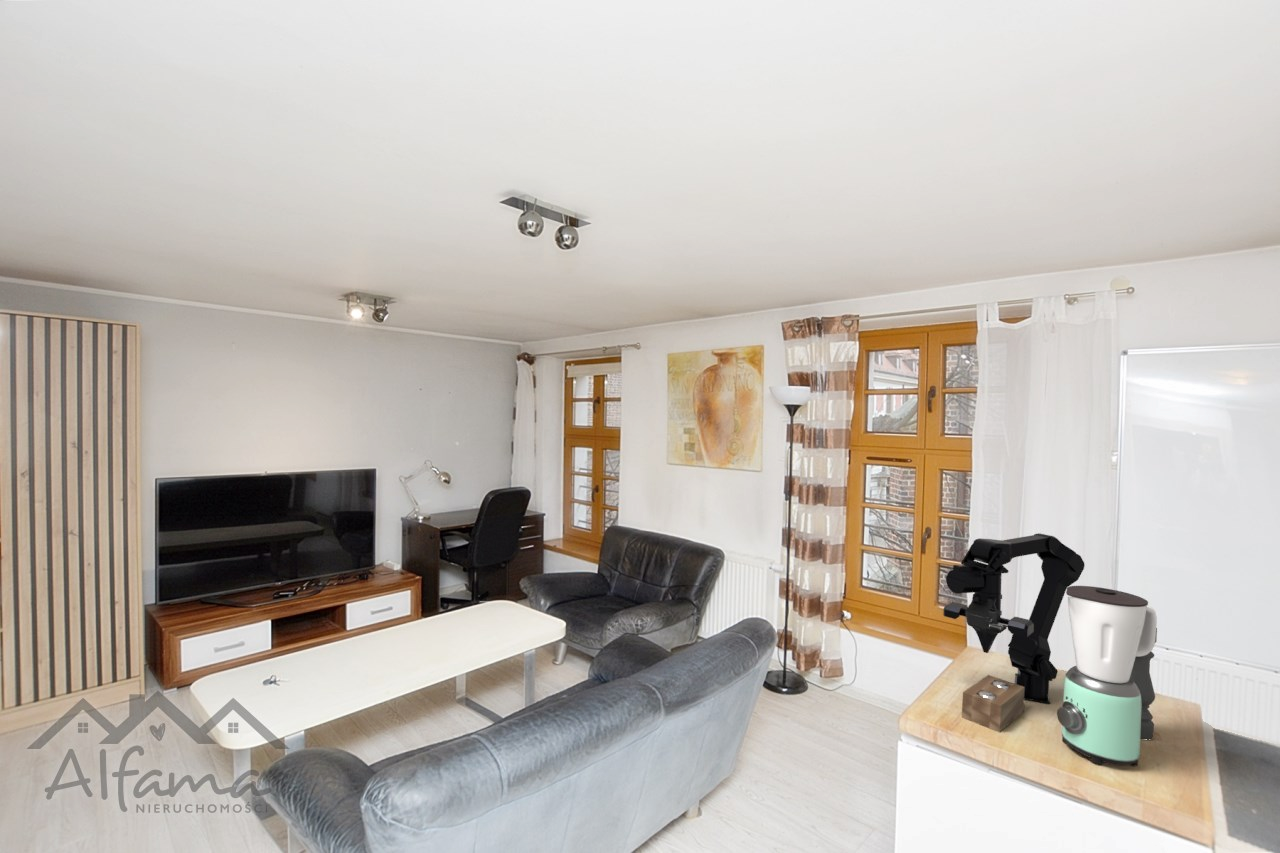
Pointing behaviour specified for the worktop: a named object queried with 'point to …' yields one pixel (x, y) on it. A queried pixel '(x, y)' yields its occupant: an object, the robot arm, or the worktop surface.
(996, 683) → the back peg
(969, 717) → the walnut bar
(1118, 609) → the mint green blender
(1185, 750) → the worktop surface
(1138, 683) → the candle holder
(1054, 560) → the robot arm
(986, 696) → the front peg
